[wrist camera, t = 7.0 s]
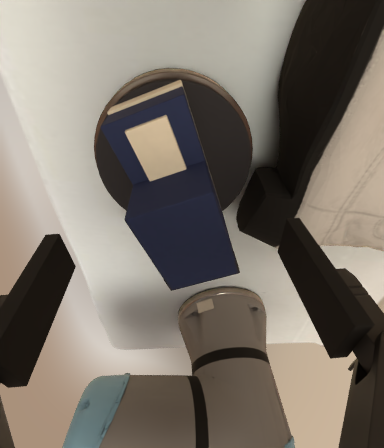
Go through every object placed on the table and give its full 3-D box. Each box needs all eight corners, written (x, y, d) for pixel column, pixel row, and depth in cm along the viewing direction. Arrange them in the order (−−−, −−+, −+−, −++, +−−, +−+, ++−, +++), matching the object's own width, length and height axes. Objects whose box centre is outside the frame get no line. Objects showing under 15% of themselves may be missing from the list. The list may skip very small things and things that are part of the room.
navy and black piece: (259, 200, 25) (292, 265, 18) (140, 235, 27) (130, 307, 20) (231, 47, 17) (275, 61, 10) (63, 116, 19) (-1, 168, 12)
